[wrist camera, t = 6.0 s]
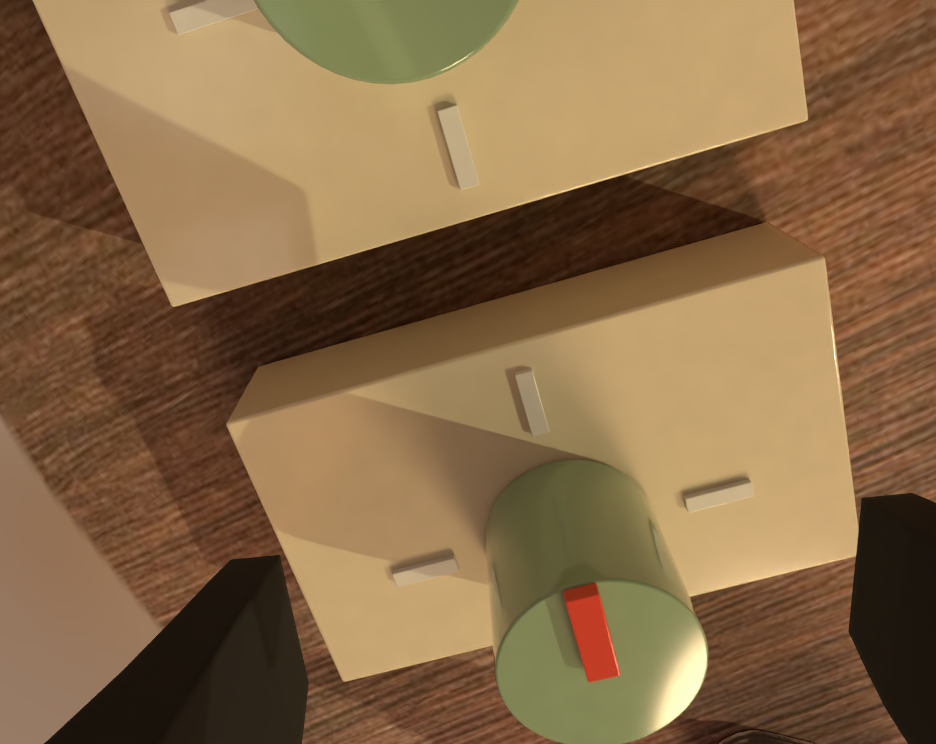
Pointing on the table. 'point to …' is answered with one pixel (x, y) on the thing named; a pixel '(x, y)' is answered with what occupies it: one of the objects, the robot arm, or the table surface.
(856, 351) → the table surface
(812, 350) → the dial knob base
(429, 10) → the green dial knob
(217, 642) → the robot arm
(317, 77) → the tan base plate
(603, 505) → the knob
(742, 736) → the lighter
